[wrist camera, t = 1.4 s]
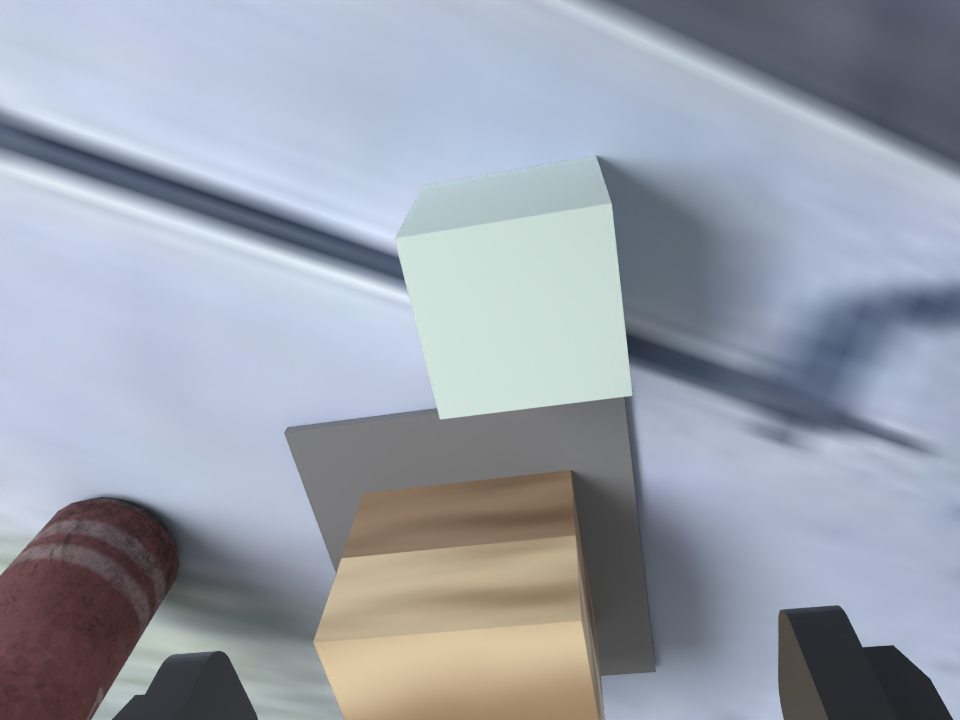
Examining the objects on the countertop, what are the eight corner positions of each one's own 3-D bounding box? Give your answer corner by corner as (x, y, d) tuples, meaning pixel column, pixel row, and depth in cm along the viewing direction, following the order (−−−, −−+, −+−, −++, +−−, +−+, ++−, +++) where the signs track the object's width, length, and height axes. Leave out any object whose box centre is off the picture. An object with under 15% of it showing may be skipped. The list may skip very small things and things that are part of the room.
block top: (341, 558, 28) (313, 642, 24) (575, 535, 27) (581, 620, 23) (397, 712, 32) (379, 804, 28) (602, 699, 31) (611, 793, 27)
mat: (287, 427, 31) (284, 432, 30) (622, 384, 28) (623, 389, 28) (381, 684, 38) (379, 690, 37) (654, 664, 36) (655, 671, 35)
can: (195, 514, 33) (-7, 832, 21) (171, 605, 36) (-19, 932, 24) (63, 469, 32) (-228, 771, 20) (50, 566, 35) (-213, 882, 23)
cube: (424, 184, 25) (394, 238, 20) (595, 154, 25) (611, 203, 19) (458, 336, 28) (440, 419, 23) (614, 314, 27) (632, 395, 22)
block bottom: (363, 493, 31) (341, 558, 28) (570, 469, 30) (575, 535, 27) (410, 639, 35) (397, 712, 32) (595, 624, 34) (602, 699, 31)
